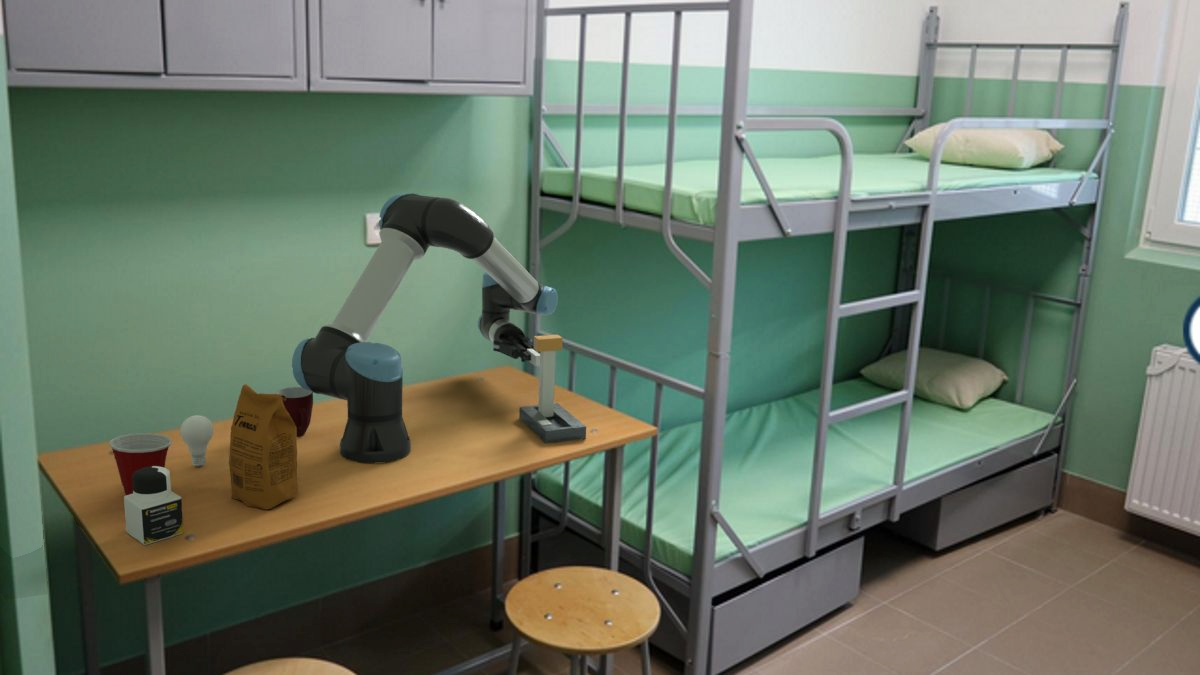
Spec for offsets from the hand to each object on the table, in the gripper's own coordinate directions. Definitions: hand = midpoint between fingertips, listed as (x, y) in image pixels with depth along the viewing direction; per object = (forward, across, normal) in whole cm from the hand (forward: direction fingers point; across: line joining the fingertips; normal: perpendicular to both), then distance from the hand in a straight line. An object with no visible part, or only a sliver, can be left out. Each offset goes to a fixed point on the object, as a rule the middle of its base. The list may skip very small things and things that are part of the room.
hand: (538, 361), depth 248 cm
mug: (-1, +57, -13) cm, 59 cm away
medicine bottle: (+42, +88, -13) cm, 98 cm away
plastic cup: (+25, +89, -13) cm, 94 cm away
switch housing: (+11, 0, -14) cm, 17 cm away
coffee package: (+31, +68, -13) cm, 76 cm away
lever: (+7, 0, -12) cm, 14 cm away
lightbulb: (+11, +79, -13) cm, 81 cm away
